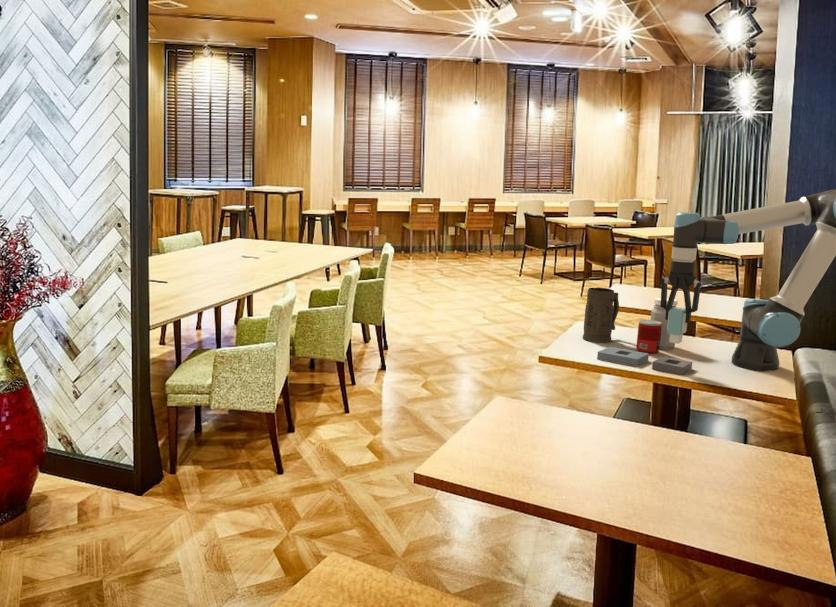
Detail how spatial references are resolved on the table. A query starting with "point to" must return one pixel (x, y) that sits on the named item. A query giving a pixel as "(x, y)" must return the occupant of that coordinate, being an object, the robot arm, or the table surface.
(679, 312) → the plug
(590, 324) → the beer stein
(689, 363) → the hollow square frame
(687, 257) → the robot arm
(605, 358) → the port panel
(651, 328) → the canned food
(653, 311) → the jar
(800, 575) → the table surface
